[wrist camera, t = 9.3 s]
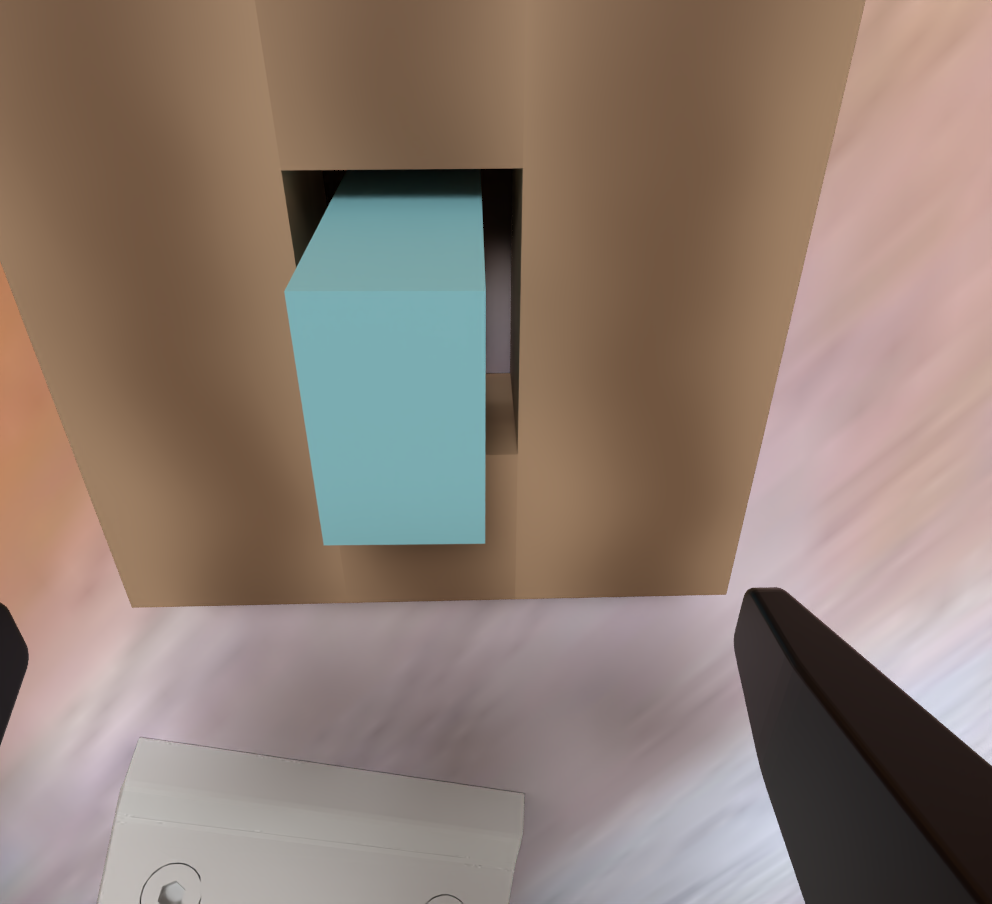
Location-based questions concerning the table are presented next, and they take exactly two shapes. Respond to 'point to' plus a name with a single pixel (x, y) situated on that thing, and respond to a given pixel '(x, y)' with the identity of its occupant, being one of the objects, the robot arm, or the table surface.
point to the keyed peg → (395, 358)
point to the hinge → (302, 833)
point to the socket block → (534, 269)
